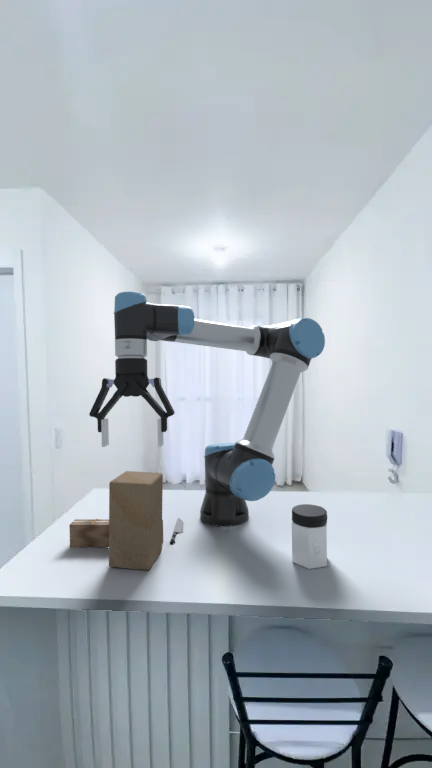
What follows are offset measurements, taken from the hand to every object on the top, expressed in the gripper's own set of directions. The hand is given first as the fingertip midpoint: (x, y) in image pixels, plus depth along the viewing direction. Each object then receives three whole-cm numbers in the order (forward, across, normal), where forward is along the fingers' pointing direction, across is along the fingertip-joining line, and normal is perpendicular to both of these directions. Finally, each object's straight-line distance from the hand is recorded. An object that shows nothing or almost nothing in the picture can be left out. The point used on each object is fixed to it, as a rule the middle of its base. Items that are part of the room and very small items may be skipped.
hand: (132, 445), depth 88 cm
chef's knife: (+28, +8, +17) cm, 34 cm away
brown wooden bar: (+28, -7, +7) cm, 29 cm away
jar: (+28, +42, 0) cm, 51 cm away
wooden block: (+28, 0, 0) cm, 28 cm away
